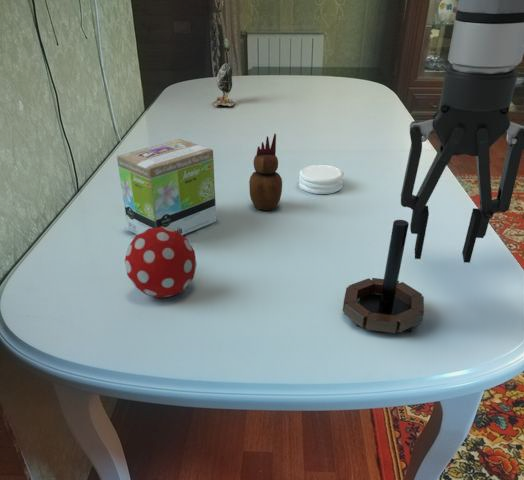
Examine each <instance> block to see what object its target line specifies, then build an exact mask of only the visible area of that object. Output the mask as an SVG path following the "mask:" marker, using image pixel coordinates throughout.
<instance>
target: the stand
mask: <svg viewBox="0 0 524 480" xmlns="http://www.w3.org/2000/svg"><path fill="white" fill-rule="evenodd" d="M409 226H410V225H409V221H407V220H405V219H395V220H394V221H393V223H392V228H391V235H390V240H389V246H388V252H387V256H386V263H385V269H384V274H383V275H384V276H383V279H384V281H383V286H382V292H381V294H374V293H372V294H370V295H367V296H364V297H362V298H359V299H358V300H359V301H358V304H360V305H361V306H363V307H364V308H365V309H367V310H368V311H369V312H371V313H378V314H386V315H394V316H395V315H397V314H400V313H402V312H405V311H407V310H409V305H407V304H406V303H404V302H403V301H401V300H400V299H398V298H397V297H395V292H396V287H397V282H398V281H399V276H400V272H401V265H402V261H403V255H404V251H405V246H406V240H407V235H408V229H409ZM355 325H356V327H360V326H359V325H358V324H357V323H355ZM364 328H366V326H365V327H364ZM413 329H414V326H413V327H411V328H408V329H406V330H404V331H402V332H403V333H412V332H413ZM402 332H401V333H402Z"/></svg>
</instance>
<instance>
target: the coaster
mask: <svg viewBox="0 0 524 480" xmlns="http://www.w3.org/2000/svg"><path fill="white" fill-rule="evenodd" d="M298 179H299V181H298V185H299V188H300V189H301V190H302V191H304V192H306V193H310V194H314V195H329V194H334V193H337V192H338V191H340V190H341V189H342V188H343V182H344V172H343V170H341V169H340V168H339V167H336V166H333V165H329V164H312V165H307V166H304V167H302V169H301V170H300V171H299V178H298Z"/></svg>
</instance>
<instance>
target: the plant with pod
mask: <svg viewBox="0 0 524 480" xmlns="http://www.w3.org/2000/svg"><path fill="white" fill-rule="evenodd" d="M230 49H231V44H230V42H229V40H228V39H227V37H226V38H224V39H223V51H224V52H225V61H227V58H228V52H229V51H230ZM216 85H217V88H218V89H219V90H220V91H221V92H222V96H217V98H216V100H214V101H213V102H212V104H213V105H214V107H217V106H220V105H221V106H224V107H226V106H227V107H232V106H234V105H235V104H236V102H235V101H233V100H230V97H228V96H229V94H230V93H231V91H232V88H233V68H232V65H231V63H230V64H229V63H227V62H225V63H224V64H222V66H221V67H220V69H219V71H218V72H217V75H216Z"/></svg>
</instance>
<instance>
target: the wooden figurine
mask: <svg viewBox="0 0 524 480" xmlns="http://www.w3.org/2000/svg"><path fill="white" fill-rule="evenodd" d="M260 146H261V147H260ZM260 146H257V149H256V154H255V156H254V158H253V168H254V171H253V172H252V174H251V175H250V177H249V182H248V183H249V184H248V185H249V188H248V189H249V197H250V201H251V202H252V205H253V207H255V208H256V209H258V210H261V211H271V210H272V211H273V210H274V209H276V208H277V207H278V205H279V203H280V202H281V201H280V200H281V197H282V193H283V179H282V176H281V175H280V173H279V172H277V170H278V168H279V160H278V159H279V158H278V157H277V155H276V151H277V150H276V149H277V134H276V133H274V134H273V138H272V140H271V145H270V138H269V136H266V140H265V145H264V142H263V141H262V142H261V145H260Z"/></svg>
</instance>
